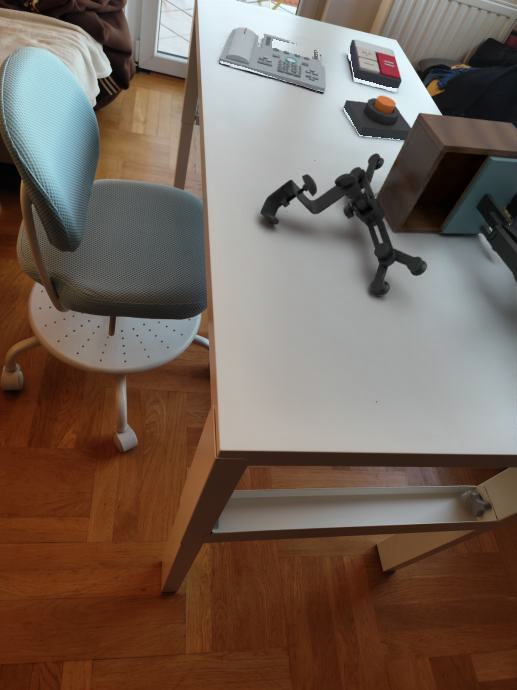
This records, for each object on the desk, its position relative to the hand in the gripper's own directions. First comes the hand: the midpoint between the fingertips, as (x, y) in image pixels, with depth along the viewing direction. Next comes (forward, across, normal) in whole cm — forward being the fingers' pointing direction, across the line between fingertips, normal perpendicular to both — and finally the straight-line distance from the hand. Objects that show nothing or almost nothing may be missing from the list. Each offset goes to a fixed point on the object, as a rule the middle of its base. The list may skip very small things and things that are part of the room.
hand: (497, 201), depth 79 cm
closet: (+5, -6, -8) cm, 11 cm away
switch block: (+35, -4, -8) cm, 36 cm away
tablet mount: (+2, -28, -8) cm, 29 cm away
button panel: (+59, +6, -8) cm, 60 cm away
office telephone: (+59, -19, -8) cm, 63 cm away
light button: (+35, -4, -4) cm, 35 cm away
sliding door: (-2, -2, -7) cm, 8 cm away
